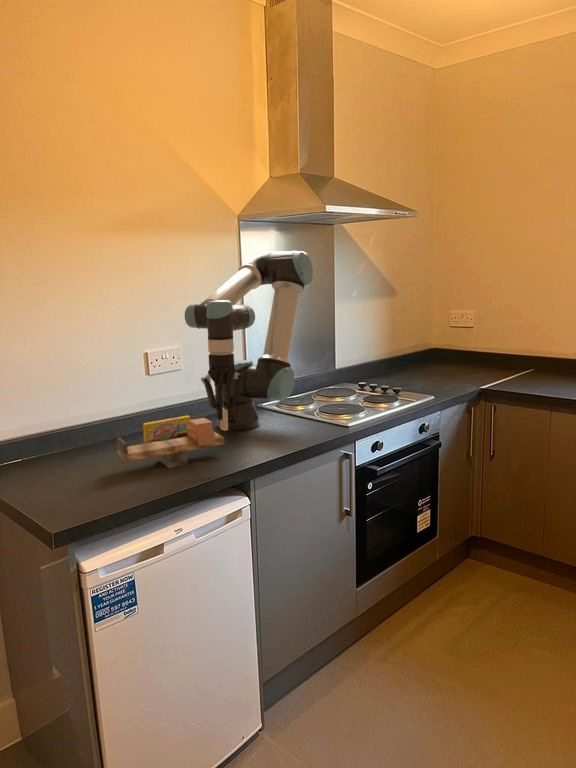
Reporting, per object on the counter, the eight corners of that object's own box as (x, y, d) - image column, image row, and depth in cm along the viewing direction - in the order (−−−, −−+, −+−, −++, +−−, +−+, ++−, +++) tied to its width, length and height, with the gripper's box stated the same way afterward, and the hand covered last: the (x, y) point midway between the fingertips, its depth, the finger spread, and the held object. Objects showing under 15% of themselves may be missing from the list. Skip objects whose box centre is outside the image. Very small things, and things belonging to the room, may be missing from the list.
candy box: (146, 449, 187) (144, 424, 186) (143, 448, 189) (141, 423, 187) (192, 440, 197) (190, 415, 195) (188, 438, 199) (187, 414, 197)
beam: (215, 450, 185) (213, 422, 183) (225, 457, 178) (224, 428, 177) (118, 467, 170) (116, 437, 169) (126, 476, 164) (123, 444, 162)
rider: (203, 436, 183) (202, 416, 182) (214, 443, 175) (214, 423, 174) (187, 438, 180) (186, 419, 179) (199, 446, 173) (198, 425, 172)
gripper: (235, 349, 183) (238, 423, 188) (195, 353, 176) (199, 429, 181) (246, 352, 177) (248, 429, 181) (205, 356, 170) (209, 435, 175)
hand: (224, 429), depth 181 cm, fingers closed
